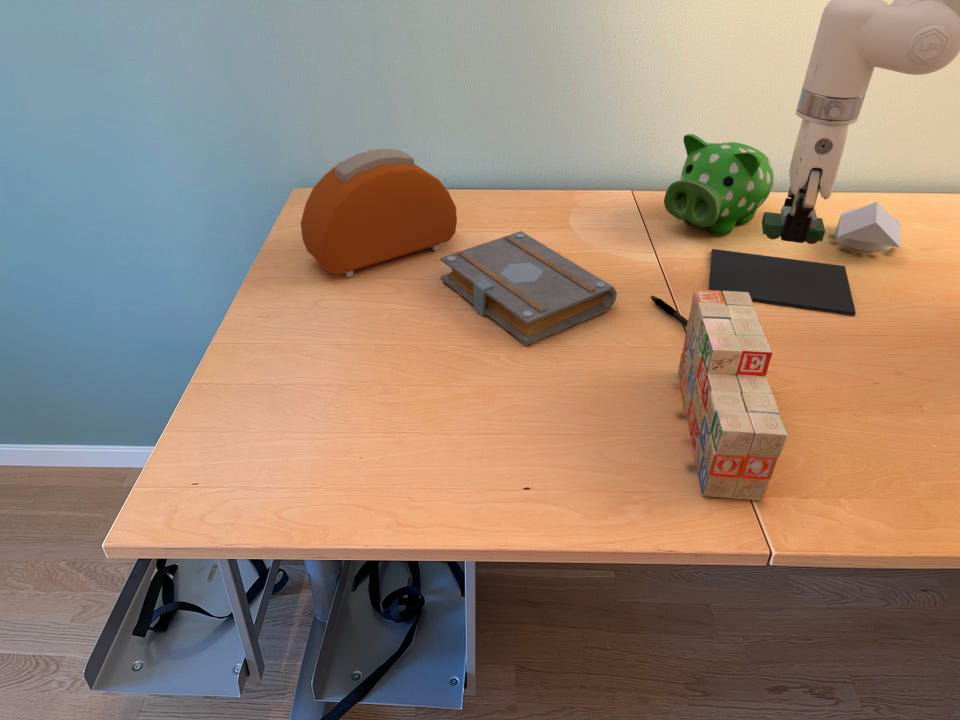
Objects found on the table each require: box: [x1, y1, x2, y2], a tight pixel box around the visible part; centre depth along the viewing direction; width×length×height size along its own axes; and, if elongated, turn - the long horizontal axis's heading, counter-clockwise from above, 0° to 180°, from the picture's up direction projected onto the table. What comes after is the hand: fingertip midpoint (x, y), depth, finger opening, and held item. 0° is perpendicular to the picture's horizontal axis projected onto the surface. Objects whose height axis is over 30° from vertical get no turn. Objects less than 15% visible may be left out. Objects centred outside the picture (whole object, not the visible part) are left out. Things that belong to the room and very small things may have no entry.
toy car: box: [761, 205, 826, 245], centre depth 100 cm, size 8×4×4 cm
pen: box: [650, 295, 688, 328], centre depth 96 cm, size 14×2×1 cm, turn 26°
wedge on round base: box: [834, 201, 902, 253], centre depth 114 cm, size 9×7×13 cm
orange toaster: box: [300, 148, 458, 278], centre depth 108 cm, size 23×9×17 cm, turn 123°
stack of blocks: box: [677, 289, 788, 501], centre depth 76 cm, size 21×6×12 cm, turn 174°
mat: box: [708, 248, 857, 317], centre depth 106 cm, size 20×14×1 cm
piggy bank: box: [663, 133, 775, 237], centre depth 118 cm, size 14×18×15 cm
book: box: [439, 230, 618, 346], centre depth 101 cm, size 21×16×5 cm
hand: (791, 231), depth 101 cm, fingers closed on toy car, 4 cm apart
